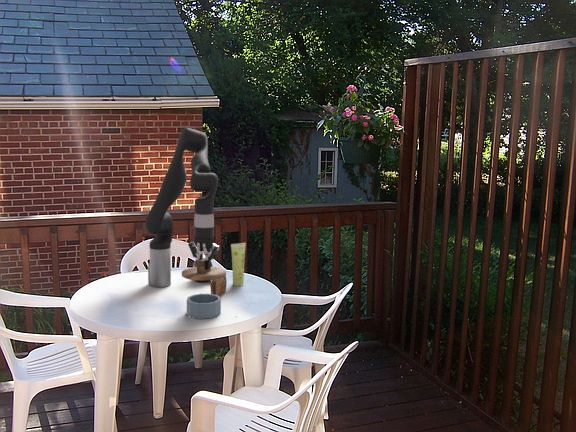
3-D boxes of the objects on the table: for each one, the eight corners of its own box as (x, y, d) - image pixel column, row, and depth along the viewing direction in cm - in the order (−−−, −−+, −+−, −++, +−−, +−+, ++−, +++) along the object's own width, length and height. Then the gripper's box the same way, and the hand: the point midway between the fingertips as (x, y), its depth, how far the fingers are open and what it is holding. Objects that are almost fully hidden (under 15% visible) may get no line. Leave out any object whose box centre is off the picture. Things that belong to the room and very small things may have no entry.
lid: (172, 276, 223) (172, 261, 222) (198, 266, 238) (198, 252, 237) (210, 282, 216) (210, 267, 215) (234, 272, 231) (234, 257, 230)
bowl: (180, 315, 227) (180, 300, 226) (199, 306, 238) (199, 291, 237) (208, 321, 221) (208, 305, 220) (226, 311, 233) (227, 296, 232)
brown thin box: (216, 300, 246) (216, 281, 245) (209, 300, 247) (209, 280, 245) (227, 290, 261) (227, 272, 259) (220, 290, 261) (220, 271, 260)
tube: (240, 287, 266) (241, 244, 263) (230, 285, 268) (230, 243, 265) (245, 283, 272) (245, 242, 269) (235, 282, 273) (235, 241, 270)
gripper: (183, 224, 224) (183, 268, 226) (214, 228, 218) (214, 273, 221) (194, 221, 230) (194, 264, 233) (224, 225, 224) (224, 269, 227)
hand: (204, 268), depth 227 cm, fingers closed on lid, 2 cm apart
